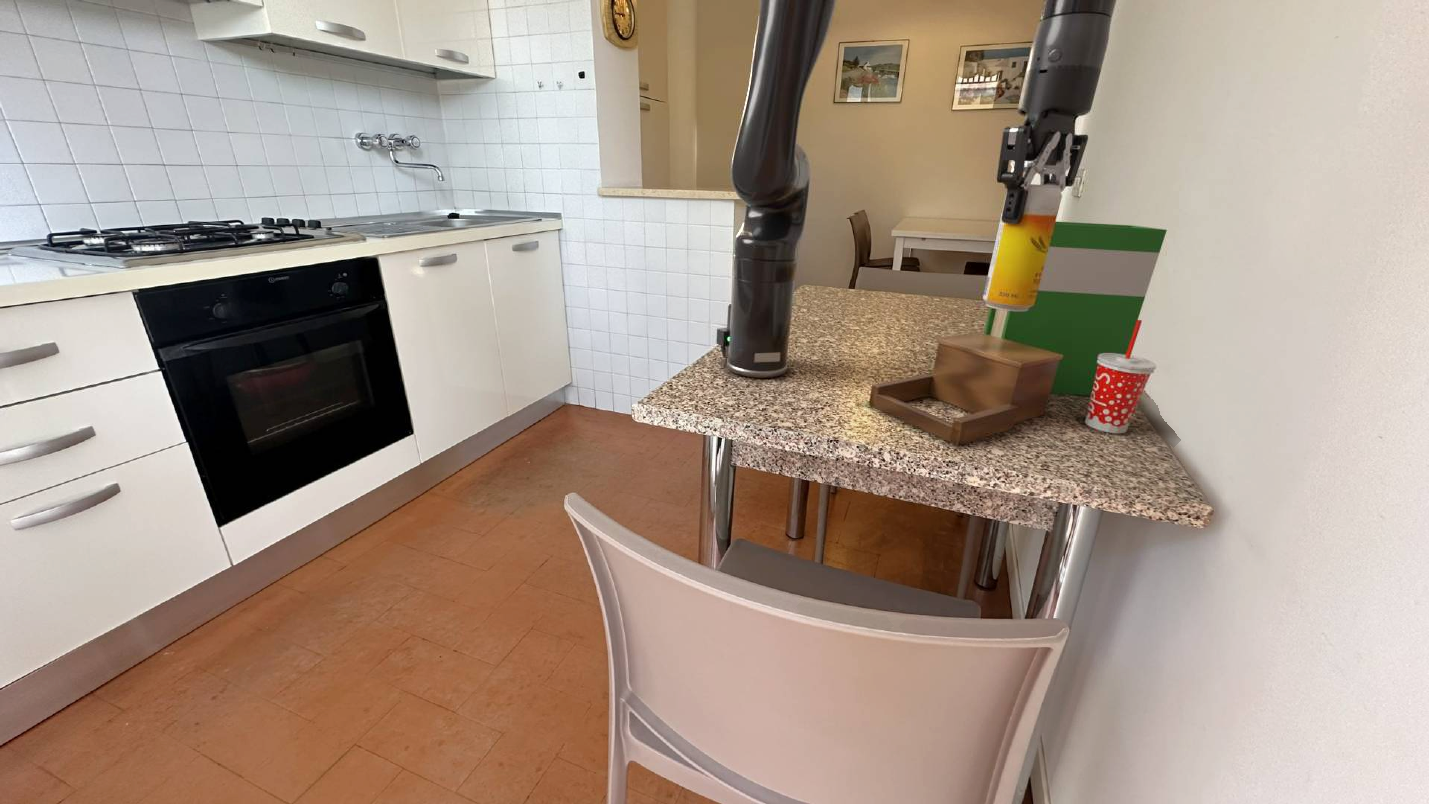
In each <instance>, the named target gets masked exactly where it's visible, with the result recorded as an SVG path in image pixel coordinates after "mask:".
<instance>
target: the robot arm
mask: <svg viewBox="0 0 1429 804" xmlns="http://www.w3.org/2000/svg"><path fill="white" fill-rule="evenodd" d="M837 1H838V0H760V1H759V10H758V20H757V26H756V27H757V28H756V34H755V41H754V48H753V55H752V62H751V70H750V71H751V72H750V77H749V84H748V85H749V86H748V89H747V90H748V91H747V96H746V100H745V105H744V110H743V112H742V113H743V114H742V117H741V122H740V126H739V129H738V130H739V131H738V133H737V134H738V135H737V138H736V142H735V146H734V150H733V155H732V160H731V167H730V178H731V184H732V187H733V189H734V192H735V194H736V196H737V197H738V198H739V199H740V201H741V202H742V203H743V204H745V214H744V219H743V223H742V226H741V228H740V229H739V232H738V233H736V236H735V237H734V238H735V239H734V246H733V262H732V281H731V283H732V284H731V299H730V303H729V304H728V306H727V317H726V318H727V320H726V321H727V322H726V327H719V328H716V340H715V341H716V342H715V343H716V344H717V345H718V346H720V350H721V354H722V358H723V359H724V363H725V364H726V368H727V370H729V371H730V372H732V373H734V374H736V375H739V376H743V377H749V378H755V379H757V378H758V379H764V378H765V379H767V378H777V377H780V376H783V375H785V374H786V373H787V371H788V356H789V347H790V335H791V325H792V315H793V314H792V313H793V305H794V295H795V286H796V285H795V283H796V273H797V263H798V252H799V247H800V244H801V241H802V238H803V235H804V230H805V225H806V224H805V223H806V216H807V209H808V208H807V207H808V202H809V193H810V184H811V183H810V181H811V180H810V179H811V168H810V161H809V158H808V156H807V154H806V152H805V150H804V149H803V147H802V146H800V145H799V144H798V143H797V138H798V129H799V123H800V115H801V109H802V104H803V100H804V96H805V92H806V89H807V87H808V83H809V80H810V79H811V76H812V75H813V74H812V73H813V72H814V69H815V68H816V65H817V62H818V61H819V58H820V56H821V54H822V51H823V49H824V46H825V44H826V41H827V39H828V36H829V33H830V30H831V27H832V23H833V19H834V15H835V11H836V7H837ZM1117 1H1118V0H1043V3H1042V7H1041V11H1040V12H1041V13H1040V17H1039V22H1038V24H1037V29H1036V31H1035V34H1034V38H1033V40H1032V43H1031V47H1030V51H1029V56H1028V60H1027V65H1026V69H1025V74H1024V79H1023V83H1022V88H1021V93H1020V97H1019V101H1018V107H1017V113H1018V114H1019V115H1020V116H1023V117H1025V118H1024V121H1023V123H1022V125H1012V126H1006V127H1004V129H1003V133H1002V138H1001V146H1000V152H999V159H998V167H997V174H996V182H997V183H998V184H999V183H1000V184H1003V185H1004V189H1006V193H1007V194H1006V193H1005V197H1006V199H1005V198H1004V201H1005V205H1004V204H1003V206H1004V208H1003V207H1002V210H1003V213H1002V212H1001V215H1002V222H1004V223H1014V224H1018V223H1020V222H1021V221H1022V217H1023V213H1024V209H1025V204H1026V200H1027V196H1028V192H1029V191H1025V190H1027V189H1028V188H1029V186H1030V184H1032V182H1033V180H1034V178H1035V176H1036V174H1038V175H1039V178H1040V180H1039V181H1040V183H1039V185H1055V186H1061V187H1060V190H1061V193H1062V192H1063V191H1064V190H1065V188H1067V187H1073V186H1074V184H1075V181H1076V178H1077V175H1078V172H1079V169H1080V166H1081V162H1082V160H1083V156H1084V153H1085V150H1086V147H1087V144H1088V141H1089V135H1088V134H1076V121H1077V119H1078V118H1079V117H1083V116H1086V115H1088V114H1089V113H1090V112H1091V111H1092V107H1093V103H1094V100H1095V95H1096V92H1097V88H1098V84H1099V80H1100V76H1101V72H1102V69H1103V64H1104V60H1105V56H1106V53H1107V50H1108V46H1109V39H1110V33H1111V26H1112V25H1111V24H1112V18H1113V16H1114V11H1115V9H1116V3H1117ZM1009 166H1010V167H1011V169H1010V171H1009ZM1067 171H1068V172H1067ZM1066 172H1067V173H1066ZM1066 174H1067V175H1066Z"/></svg>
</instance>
